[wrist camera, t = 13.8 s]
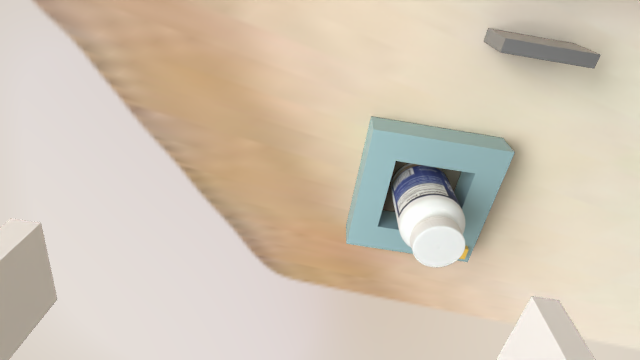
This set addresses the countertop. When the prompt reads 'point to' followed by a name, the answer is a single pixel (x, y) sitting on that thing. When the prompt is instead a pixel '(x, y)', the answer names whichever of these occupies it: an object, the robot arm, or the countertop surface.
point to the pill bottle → (428, 214)
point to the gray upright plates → (541, 48)
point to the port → (430, 150)
